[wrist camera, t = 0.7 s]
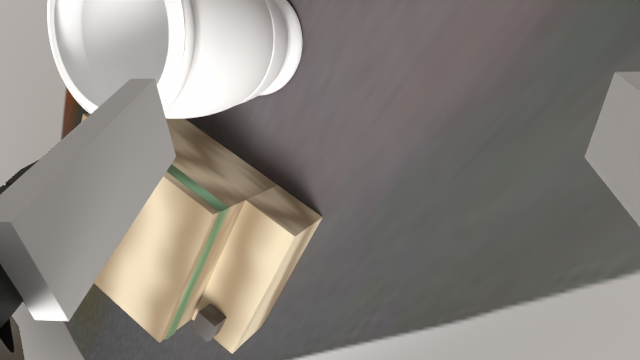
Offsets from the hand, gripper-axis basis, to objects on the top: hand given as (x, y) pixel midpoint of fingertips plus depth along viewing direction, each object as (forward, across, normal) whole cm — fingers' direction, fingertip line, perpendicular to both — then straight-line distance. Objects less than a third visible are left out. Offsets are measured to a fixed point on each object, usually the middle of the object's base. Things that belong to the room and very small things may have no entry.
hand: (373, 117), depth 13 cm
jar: (+24, -9, -5) cm, 26 cm away
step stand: (+20, -14, -21) cm, 33 cm away
